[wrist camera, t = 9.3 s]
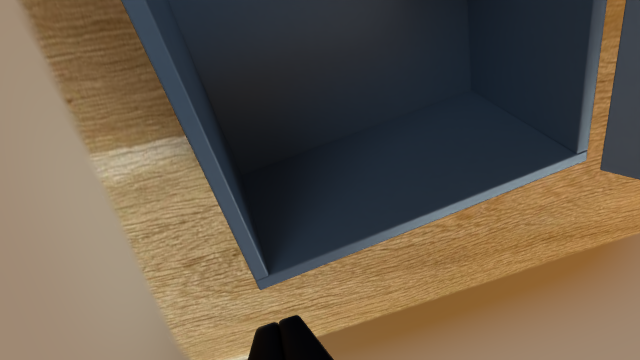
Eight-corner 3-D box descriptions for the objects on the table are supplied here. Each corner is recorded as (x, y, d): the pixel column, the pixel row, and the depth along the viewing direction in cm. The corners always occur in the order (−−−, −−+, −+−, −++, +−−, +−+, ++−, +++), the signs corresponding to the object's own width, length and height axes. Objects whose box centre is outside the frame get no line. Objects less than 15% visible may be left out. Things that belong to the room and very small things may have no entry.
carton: (462, -208, 16) (644, -278, 10) (474, 92, 23) (587, 160, 17) (108, -106, 15) (66, -113, 9) (233, 181, 22) (260, 290, 15)
